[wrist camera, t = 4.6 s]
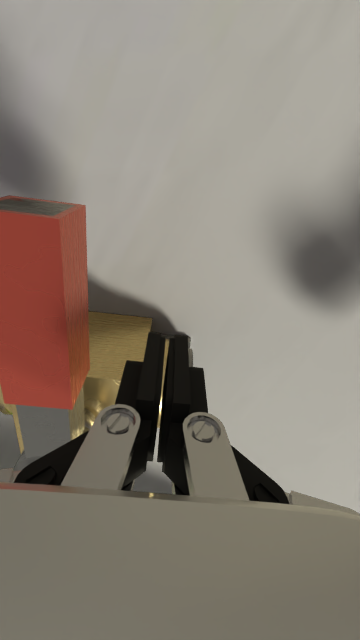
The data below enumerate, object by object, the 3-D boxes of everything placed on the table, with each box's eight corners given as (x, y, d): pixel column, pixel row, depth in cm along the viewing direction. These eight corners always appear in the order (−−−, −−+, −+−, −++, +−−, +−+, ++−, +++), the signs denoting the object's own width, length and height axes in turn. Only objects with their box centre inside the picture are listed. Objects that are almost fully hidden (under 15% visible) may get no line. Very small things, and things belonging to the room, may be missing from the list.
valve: (192, 322, 22) (198, 405, 15) (181, 390, 25) (182, 486, 18) (11, 302, 21) (-78, 379, 14) (23, 375, 24) (-44, 469, 17)
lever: (101, 207, 10) (79, 221, 8) (102, 464, 17) (90, 511, 15) (-7, 193, 10) (-61, 204, 8) (37, 459, 17) (15, 506, 14)
